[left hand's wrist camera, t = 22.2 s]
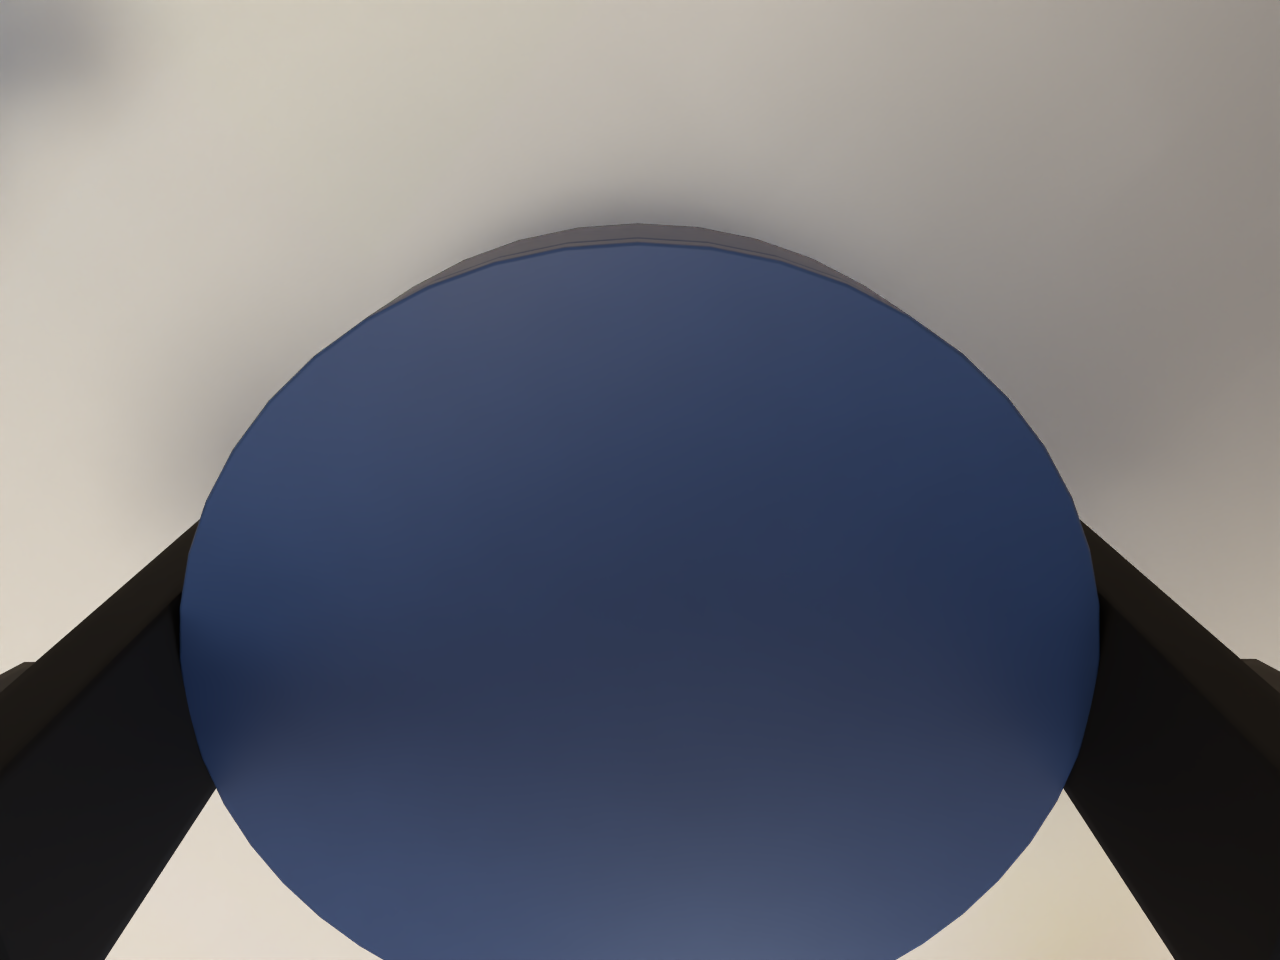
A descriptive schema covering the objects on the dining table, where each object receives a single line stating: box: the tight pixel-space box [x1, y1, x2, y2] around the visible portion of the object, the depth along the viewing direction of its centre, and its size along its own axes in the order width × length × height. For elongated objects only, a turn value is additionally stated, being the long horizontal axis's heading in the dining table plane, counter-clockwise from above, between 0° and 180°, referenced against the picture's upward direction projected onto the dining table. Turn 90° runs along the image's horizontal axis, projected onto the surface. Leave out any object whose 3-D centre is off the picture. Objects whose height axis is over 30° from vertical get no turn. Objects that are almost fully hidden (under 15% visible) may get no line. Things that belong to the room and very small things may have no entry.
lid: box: [180, 223, 1100, 960], centre depth 11 cm, size 11×11×2 cm
